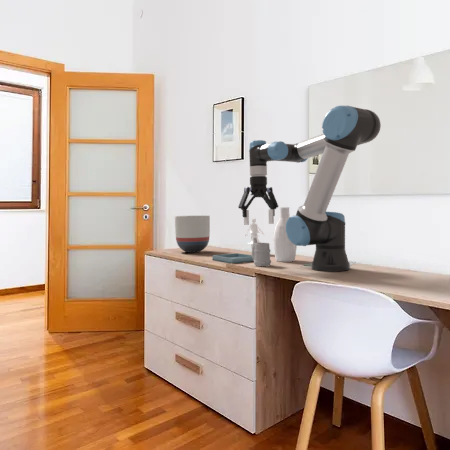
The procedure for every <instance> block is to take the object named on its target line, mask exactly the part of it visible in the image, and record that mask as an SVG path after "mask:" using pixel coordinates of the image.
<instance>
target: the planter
mask: <svg viewBox="0 0 450 450" xmlns="http://www.w3.org/2000/svg"><path fill="white" fill-rule="evenodd" d="M210 220H211V219H210V215H206V214H205V215H203V214H201V215H175V216H174V229H175V232H174V234H175V240H176V244H177V246H178V247H179V248H180V250H182V251H184V252H185V253H191V252H193V253H200V252H202V251H203V250H205V249H206V248H207V246H208V245H209V242H210V236H211V235H210V234H211V229H210V228H211V227H210V225H211V224H210V223H211V222H210Z"/></svg>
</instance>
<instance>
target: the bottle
mask: <svg viewBox="0 0 450 450" xmlns="http://www.w3.org/2000/svg"><path fill="white" fill-rule="evenodd" d="M290 217H291V216H290V207H288V206H287V207H284V206H283V207H279V219H278V221H277V222H276V224H275V228H274V231H273V238H272V240H273V241H272V242H273V251H274V252H273V253H274V257H275V261H276V262H278V261H281V262H280V263H290V262H291V263H292V261H293V262H295V260H296V256H297V255H296V254H297V248H298V247H297V245H294V244H293V243H292V242H291V241H290V240H289V239H288V236H287V233H286V222H287V220H288V219H289V218H290Z"/></svg>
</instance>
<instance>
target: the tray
mask: <svg viewBox="0 0 450 450" xmlns="http://www.w3.org/2000/svg"><path fill="white" fill-rule="evenodd" d="M212 261H216V262H219V263H226V264H230V263H237V264H243V263H242V262H246V263H251V262H250V261H253V258H252V254H245V253H239V252H238V253H237V252H236V253H226V254H224V253H223V254H215V255H214V254H213V255H212Z"/></svg>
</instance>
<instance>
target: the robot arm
mask: <svg viewBox="0 0 450 450" xmlns="http://www.w3.org/2000/svg"><path fill="white" fill-rule="evenodd" d="M321 126H322V127H321V128H322V129H323V130H322V134H319V135H317V136H313V137H310V138H308V139H305V140H302V141H300V142H298V143H285V142H284V141H273V142H269V143H267V141H266V140H263V139H260V140H256V139H255V140H252V141H250V142H249V150H248V152H249V155H248V156H249V176H250V177H249V185H250V186H245V187H244V189H243V194H242V197H241V199H240V201H239V204H238V209H241V211H242V218H243V225H245V226H250V215H249V214H250V210H249V207H250V205H251V204H252V202H254V199H256V198H262V200H264V202H265V203H266V205H267V206H268V208H269V209H268V224H269V225H274V221H275V220H274V217H275V210H277V209H278V208H279V204H278V201H277V199H276V197H275V194H274V192H273V187H271V186H270V187H267V184H268V177H267V175H268V164H267V162H290V163H296V164H297V163H304V162H306V161H307V160H308V159H309V158H313V157H317V156H319V155H321V157H320V160H319V163H318V166H317V169H316V171H315V174H314V177H313V179H312V182H311V185H310V187H309V189H308V192H307V194H306V198H305V201H304V203H303V205H300V206H299V207H298V208H297V211H296V214H295V215H292V216H290V218H289V219H288V220H287V222H286V233H287V236H288V239H289V240H290V241H291V242H292V243H293V244H294V245H297V246H298V247H299V246H300V247H301V246H302V247H306V246H313V245H314V246H315V252H314V254H313V258H312V259H313V260H312V262H311V269H312V270H314V271H321V272H344V271H349V270H350V269H351V264H350V261H349V259H348V256H347V255H348V254H347V252H346V220H345V219H346V218H345V215H344V214H343V213H340V212H336V211H327V209H328V207H329V205H330V202H331V200H332V197H333V195H334V193H335V190H336V187H337V185H338V182H339V179H340V177H341V175H342V172H343V170H344V168H345V165H346V162H347V159H348V157H349V154H351V153H353V152H355V151H356V149H357V147H358V146H361V145H364V144H367V143H370V142H371V141H373V140H374V139H375V138H376V139H377V137H378V135H379V133H380V132H381V126H382V125H381V120H380V118H379V116H378V114H376V113H375V112H374V111H373V110H370V109H364V108H360V107H356V106H355V107H354V106H351V105H336V106H335V107H333V108H331V109H329V110H328V111H327V112H326V114H325V116H324V118H323V121H322V123H321ZM249 194H250V195H249Z"/></svg>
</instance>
